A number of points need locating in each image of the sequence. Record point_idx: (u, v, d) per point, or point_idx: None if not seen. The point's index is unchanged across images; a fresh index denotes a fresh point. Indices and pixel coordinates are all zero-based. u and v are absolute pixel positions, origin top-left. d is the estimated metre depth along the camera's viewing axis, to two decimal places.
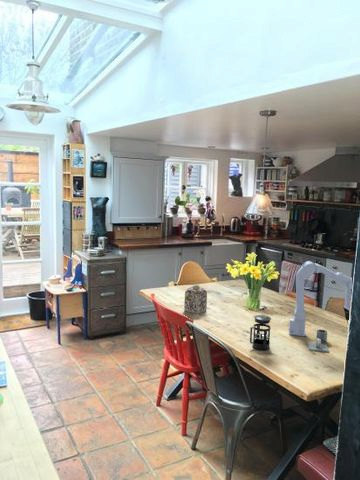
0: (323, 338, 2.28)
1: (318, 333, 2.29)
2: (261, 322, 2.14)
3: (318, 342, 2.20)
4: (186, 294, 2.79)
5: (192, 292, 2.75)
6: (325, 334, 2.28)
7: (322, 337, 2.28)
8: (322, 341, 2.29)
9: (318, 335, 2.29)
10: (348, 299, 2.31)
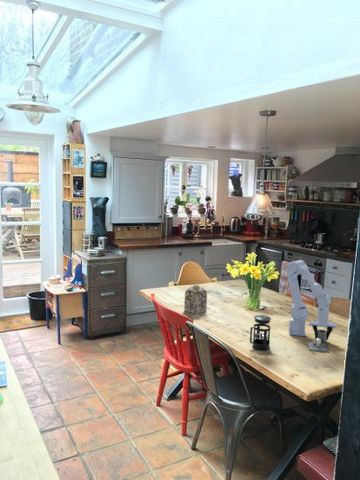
0: (323, 338, 2.28)
1: (318, 333, 2.29)
2: (261, 322, 2.14)
3: (318, 342, 2.20)
4: (186, 294, 2.79)
5: (192, 292, 2.75)
6: (325, 334, 2.28)
7: (322, 337, 2.28)
8: (322, 341, 2.29)
9: (318, 335, 2.29)
10: (318, 315, 2.29)
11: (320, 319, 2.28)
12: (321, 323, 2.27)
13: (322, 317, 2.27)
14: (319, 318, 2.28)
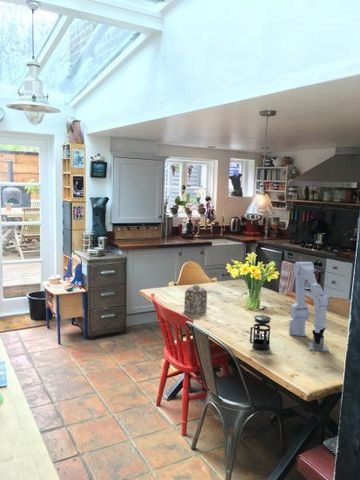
0: (323, 342, 2.20)
1: (321, 339, 2.18)
2: (261, 322, 2.14)
3: None
4: (186, 294, 2.79)
5: (192, 292, 2.75)
6: None
7: (323, 341, 2.20)
8: None
9: (321, 341, 2.18)
10: None
11: (323, 321, 2.17)
12: (324, 325, 2.17)
13: (325, 318, 2.17)
14: (323, 321, 2.16)
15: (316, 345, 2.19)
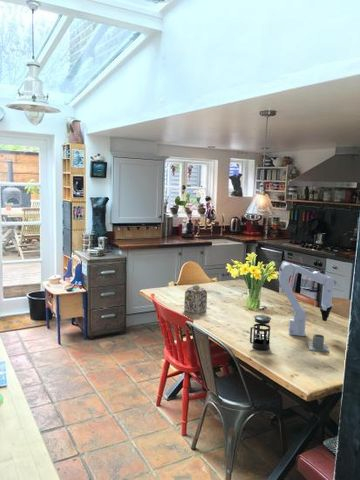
0: (323, 342, 2.20)
1: (321, 339, 2.18)
2: (261, 322, 2.14)
3: None
4: (186, 294, 2.79)
5: (192, 292, 2.75)
6: None
7: (323, 341, 2.20)
8: None
9: (321, 341, 2.18)
10: (325, 297, 2.36)
11: (330, 300, 2.36)
12: (331, 303, 2.37)
13: (331, 297, 2.36)
14: (329, 299, 2.36)
15: (316, 345, 2.19)
